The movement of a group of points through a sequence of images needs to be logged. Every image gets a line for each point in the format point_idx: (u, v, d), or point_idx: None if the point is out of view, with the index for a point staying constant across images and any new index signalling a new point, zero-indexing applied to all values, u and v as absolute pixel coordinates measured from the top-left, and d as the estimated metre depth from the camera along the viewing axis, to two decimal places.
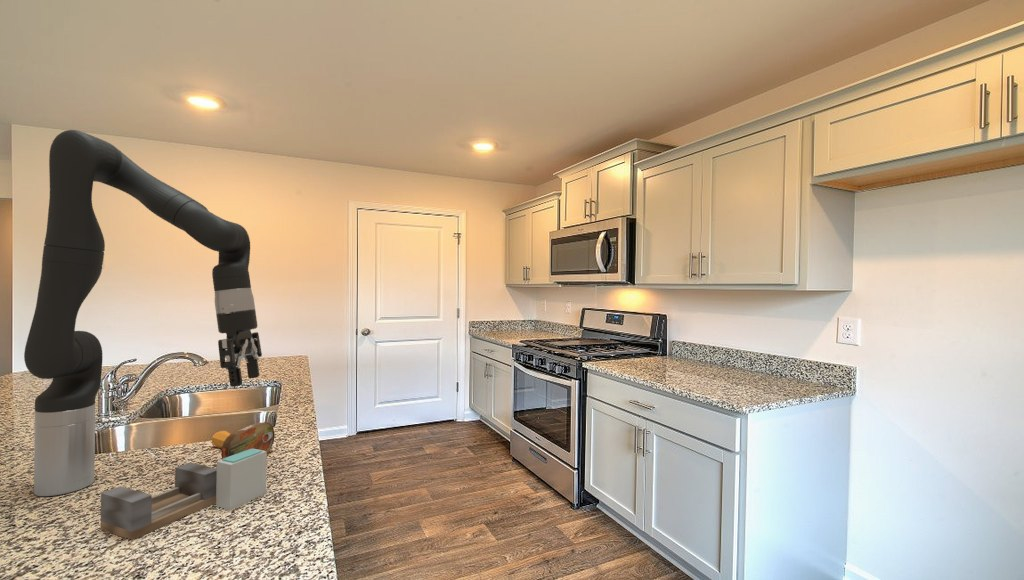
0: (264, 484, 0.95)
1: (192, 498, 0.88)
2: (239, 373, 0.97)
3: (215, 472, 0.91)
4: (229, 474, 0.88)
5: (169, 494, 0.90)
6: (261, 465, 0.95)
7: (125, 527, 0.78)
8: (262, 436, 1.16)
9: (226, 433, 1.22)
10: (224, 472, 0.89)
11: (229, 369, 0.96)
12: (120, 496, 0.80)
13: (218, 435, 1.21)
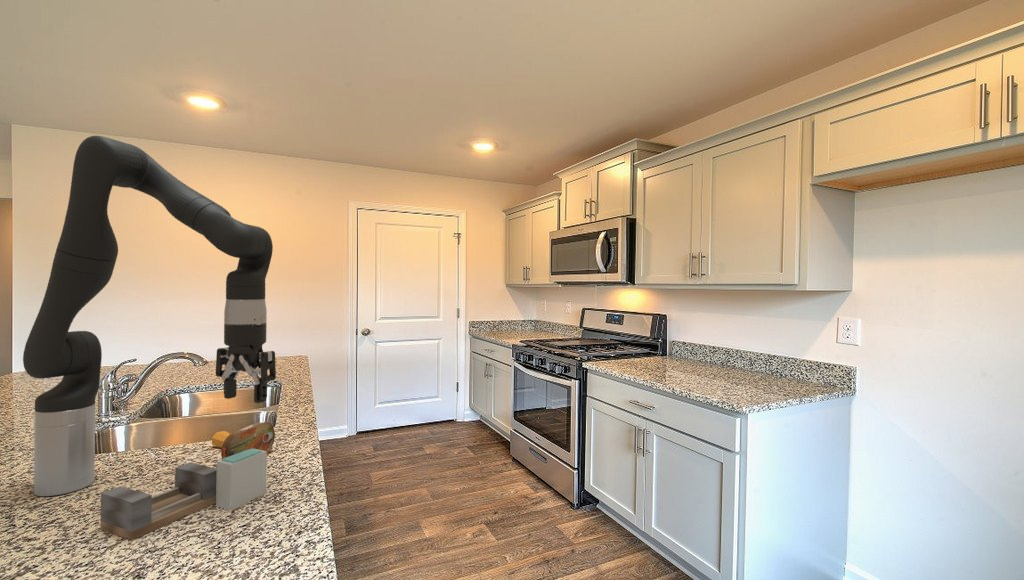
0: (264, 484, 0.95)
1: (192, 498, 0.88)
2: None
3: (215, 472, 0.91)
4: (229, 474, 0.88)
5: (169, 494, 0.90)
6: (261, 465, 0.95)
7: (125, 527, 0.78)
8: (262, 436, 1.16)
9: (226, 433, 1.22)
10: (224, 472, 0.89)
11: (263, 384, 0.91)
12: (120, 496, 0.80)
13: (218, 435, 1.21)
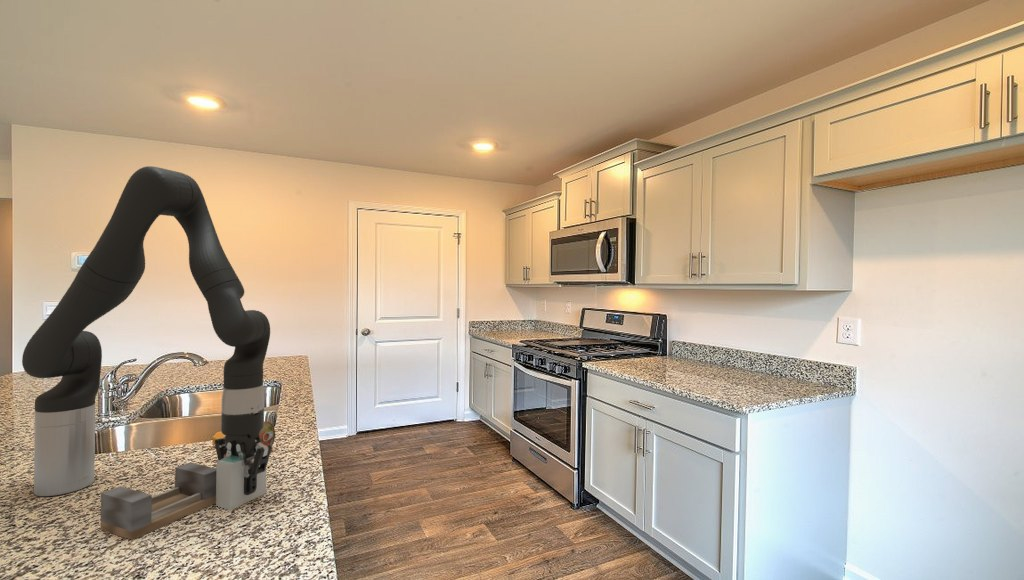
0: (264, 484, 0.95)
1: (192, 498, 0.88)
2: None
3: (215, 472, 0.91)
4: (228, 474, 0.88)
5: (169, 494, 0.90)
6: None
7: (125, 527, 0.78)
8: (263, 435, 1.17)
9: None
10: (224, 471, 0.89)
11: (252, 476, 0.91)
12: (120, 496, 0.80)
13: (219, 435, 1.22)
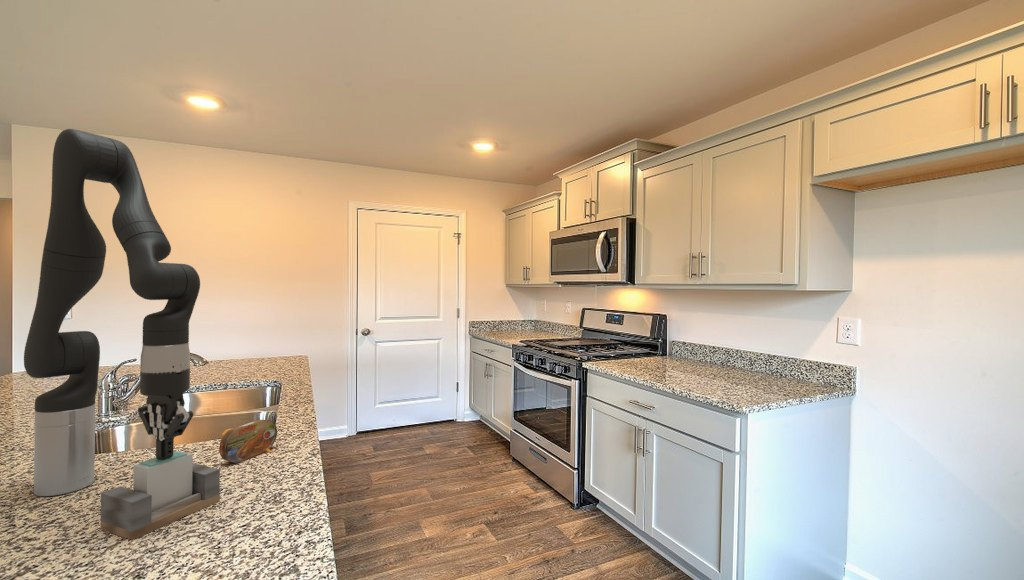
0: (190, 489, 0.89)
1: (192, 498, 0.88)
2: None
3: (215, 472, 0.91)
4: (145, 479, 0.82)
5: None
6: (186, 469, 0.88)
7: (125, 527, 0.78)
8: (263, 433, 1.19)
9: None
10: (141, 476, 0.82)
11: (168, 439, 0.85)
12: (120, 496, 0.80)
13: None
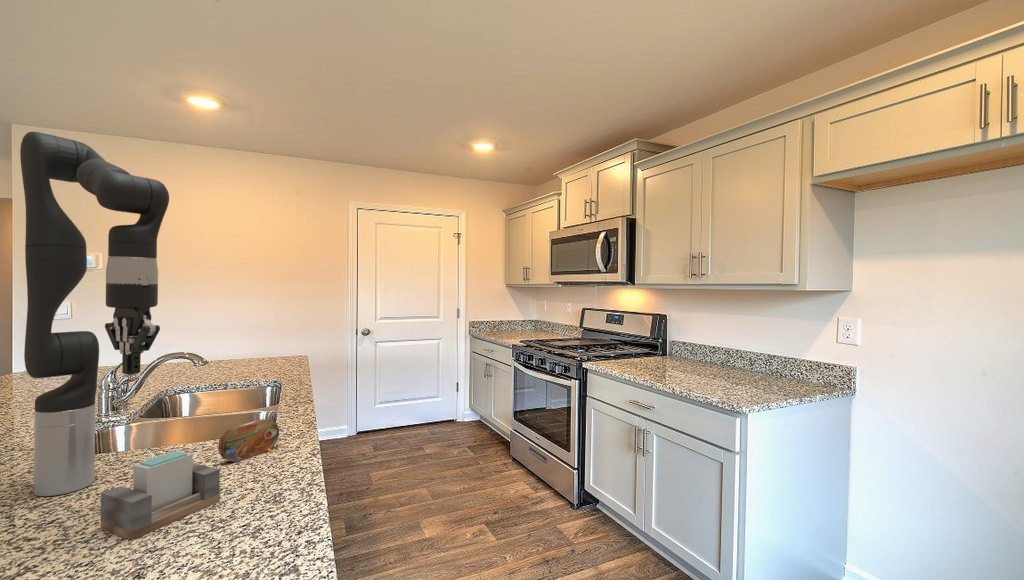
0: (190, 489, 0.89)
1: (192, 498, 0.88)
2: (139, 359, 0.86)
3: (215, 472, 0.91)
4: (145, 479, 0.82)
5: None
6: (186, 468, 0.88)
7: (125, 527, 0.78)
8: (264, 432, 1.19)
9: None
10: (141, 476, 0.82)
11: (134, 354, 0.84)
12: (120, 496, 0.80)
13: None
